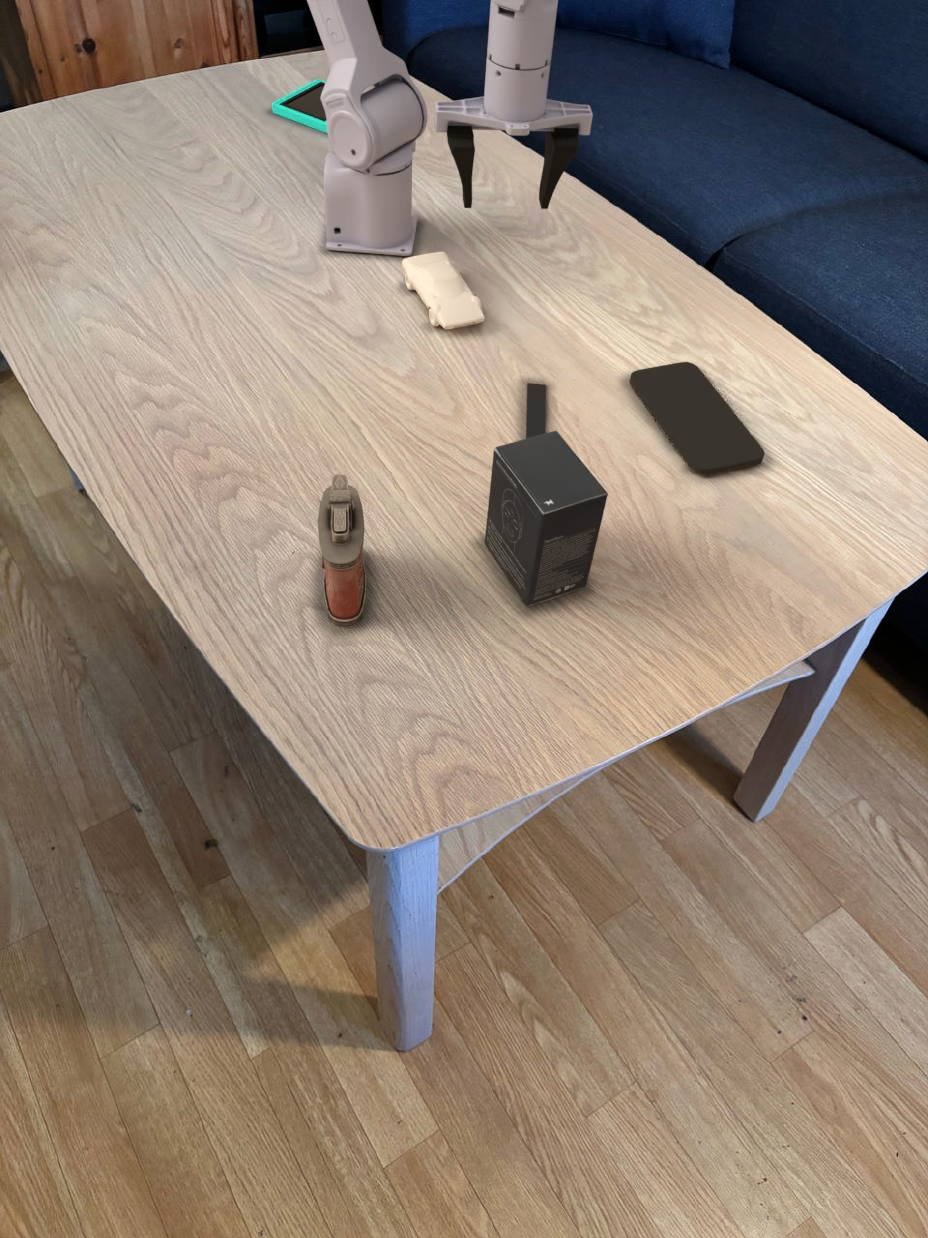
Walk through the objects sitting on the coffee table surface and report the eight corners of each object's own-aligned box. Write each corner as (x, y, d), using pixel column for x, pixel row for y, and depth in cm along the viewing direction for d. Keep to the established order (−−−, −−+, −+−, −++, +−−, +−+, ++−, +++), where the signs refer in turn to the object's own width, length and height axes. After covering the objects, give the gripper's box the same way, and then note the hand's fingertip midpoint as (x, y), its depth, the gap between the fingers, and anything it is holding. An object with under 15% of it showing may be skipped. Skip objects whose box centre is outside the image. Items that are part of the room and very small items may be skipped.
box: (587, 587, 78) (610, 493, 70) (526, 609, 76) (542, 514, 68) (541, 523, 82) (557, 426, 74) (481, 542, 80) (491, 445, 72)
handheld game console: (368, 150, 121) (367, 139, 120) (269, 112, 126) (268, 101, 125) (413, 121, 127) (414, 110, 126) (317, 86, 132) (317, 76, 130)
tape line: (524, 491, 84) (525, 490, 84) (527, 384, 94) (527, 382, 94) (545, 493, 84) (545, 492, 84) (545, 385, 94) (545, 384, 94)
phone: (693, 359, 96) (770, 456, 88) (691, 366, 97) (767, 463, 88) (626, 371, 94) (698, 472, 86) (624, 378, 95) (696, 478, 86)
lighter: (324, 550, 79) (315, 459, 71) (365, 549, 79) (362, 458, 71) (323, 628, 74) (314, 539, 66) (367, 627, 74) (364, 537, 66)
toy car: (439, 340, 97) (441, 311, 95) (398, 276, 104) (398, 247, 102) (489, 330, 99) (491, 301, 96) (445, 268, 106) (446, 239, 103)
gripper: (440, 74, 82) (435, 223, 93) (606, 78, 84) (583, 225, 94) (435, 39, 87) (430, 186, 97) (593, 44, 88) (572, 188, 99)
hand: (505, 203), depth 96 cm, fingers open, 7 cm apart
